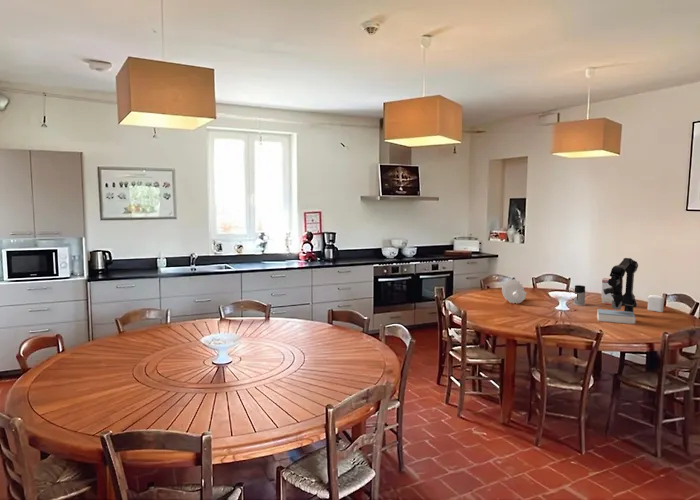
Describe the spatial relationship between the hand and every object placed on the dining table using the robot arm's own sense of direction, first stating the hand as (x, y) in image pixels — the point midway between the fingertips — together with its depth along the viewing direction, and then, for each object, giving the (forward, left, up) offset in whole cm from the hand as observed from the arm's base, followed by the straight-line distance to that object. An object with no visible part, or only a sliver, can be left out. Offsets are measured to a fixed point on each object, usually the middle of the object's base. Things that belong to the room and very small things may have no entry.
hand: (616, 306), depth 321 cm
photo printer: (-44, +31, -10) cm, 55 cm away
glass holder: (-45, -23, -10) cm, 52 cm away
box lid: (0, 0, -5) cm, 5 cm away
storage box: (0, 0, -10) cm, 10 cm away
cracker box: (-56, +3, -10) cm, 57 cm away
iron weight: (0, 0, -1) cm, 1 cm away
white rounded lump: (-37, -71, -10) cm, 81 cm away
